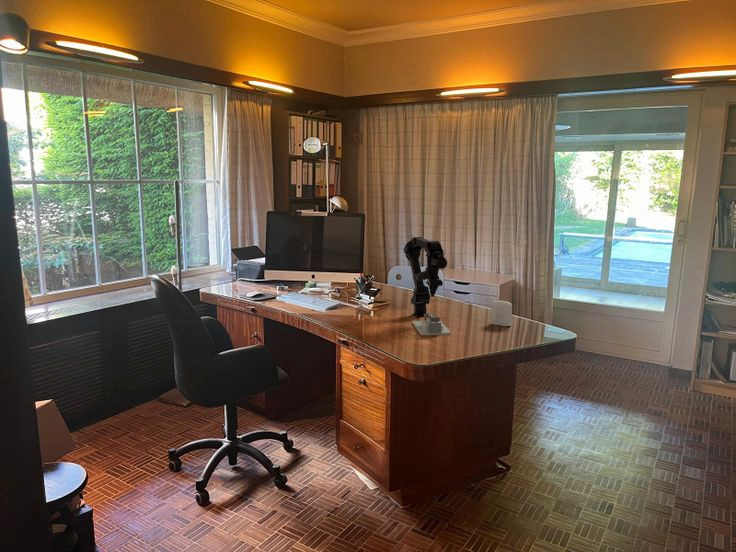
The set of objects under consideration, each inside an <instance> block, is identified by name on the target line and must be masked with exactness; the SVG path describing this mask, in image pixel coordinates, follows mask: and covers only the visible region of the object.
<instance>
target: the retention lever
mask: <svg viewBox="0 0 736 552" xmlns="http://www.w3.org/2000/svg"><path fill="white" fill-rule="evenodd" d="M427 318H428V320H430V322H440V321H441V320H440V317H439V316H436V315H435V316H434V315H433V314H428V315H427V316H426V319H427Z"/></svg>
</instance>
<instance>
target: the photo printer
mask: <svg viewBox="0 0 736 552" xmlns="http://www.w3.org/2000/svg"><path fill="white" fill-rule="evenodd" d="M490 309H491V312H490V313H491V314H490V324H491V325H494V326H495V325H496V326H501V327H507V326H511V327H512V319H513V318H512V317H513V304H512V303H511V302H509V301H506V300H493V301H492V302H491V308H490Z"/></svg>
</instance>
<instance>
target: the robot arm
mask: <svg viewBox="0 0 736 552" xmlns="http://www.w3.org/2000/svg"><path fill="white" fill-rule="evenodd" d="M421 250H424V252H425V253H426V254H425V257H426V267H425V270H423V271H422V270H421V269H422V268H421V264H420V260H419V259H420V257H421ZM403 253H404V254H405V258H406V259H407V260H408V261H409V263H410V264H409V265H410V269H411V273H412V279H413V283H414V289H413V293H412V294H413V295H412V297H411V299H410V304H411V305H413V313H411V315H412V316H414V317H419V318H420V317H424V314H426V315H429V314H428V313H427V305H429V304H430V300H431V298H434V297H435V295H436V293H437V290H438V288H439V287H442V286H443V284H444V283H443V280H442V279H440V276H439V271H440V270H443V269H445V268H446V267H447V266H448V260H447V259H446V257H445V256H444V255H445V253H444V249H443V247H442V244H441V242H440V241H439V240H428V239H426V238H423V237H421V236H415V237H412V238H411V239H410V240H409V241H408V242H407V243H405V246H404V247H403ZM424 281H425V283H424ZM425 284H427V286H426V285H425Z"/></svg>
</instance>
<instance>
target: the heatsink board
mask: <svg viewBox="0 0 736 552" xmlns="http://www.w3.org/2000/svg"><path fill="white" fill-rule="evenodd" d="M426 314H427V313H426ZM426 314H424V316H423V320H416V321H415V320H413V321H412V325H413V326H414V327H415V329H416V331H417V332H418V333H419V335H420V336H421V335H422V336H441V335H443V336H444V335H445V336H446V335H452V334H451V333H452V332H451V331H450V330H449V329H448V328H447V326H446V325H445V324H444V323H443V321H441V320H440V322H430V319H428V320H427V317H426V316H427V315H426ZM432 315H434V316H435V317H436V314H435V313H432Z"/></svg>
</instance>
